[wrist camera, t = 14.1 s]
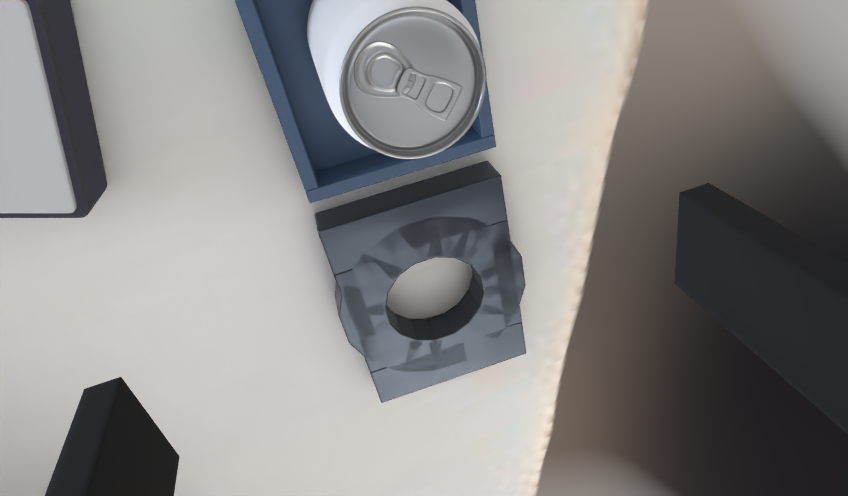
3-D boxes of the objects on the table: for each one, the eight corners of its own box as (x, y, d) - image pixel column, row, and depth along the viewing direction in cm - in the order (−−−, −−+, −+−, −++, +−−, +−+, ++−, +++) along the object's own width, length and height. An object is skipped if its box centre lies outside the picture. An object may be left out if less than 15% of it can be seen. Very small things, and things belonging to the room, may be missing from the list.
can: (333, -59, 28) (371, -44, 18) (441, 0, 31) (528, 42, 21) (287, 61, 30) (300, 134, 20) (392, 107, 33) (448, 191, 23)
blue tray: (480, 130, 36) (496, 147, 33) (306, 182, 35) (309, 203, 32) (433, -164, 27) (451, -172, 25) (200, -107, 26) (194, -109, 24)
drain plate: (521, 331, 46) (534, 350, 44) (368, 383, 45) (373, 406, 42) (496, 157, 37) (510, 172, 35) (304, 216, 36) (307, 234, 34)
